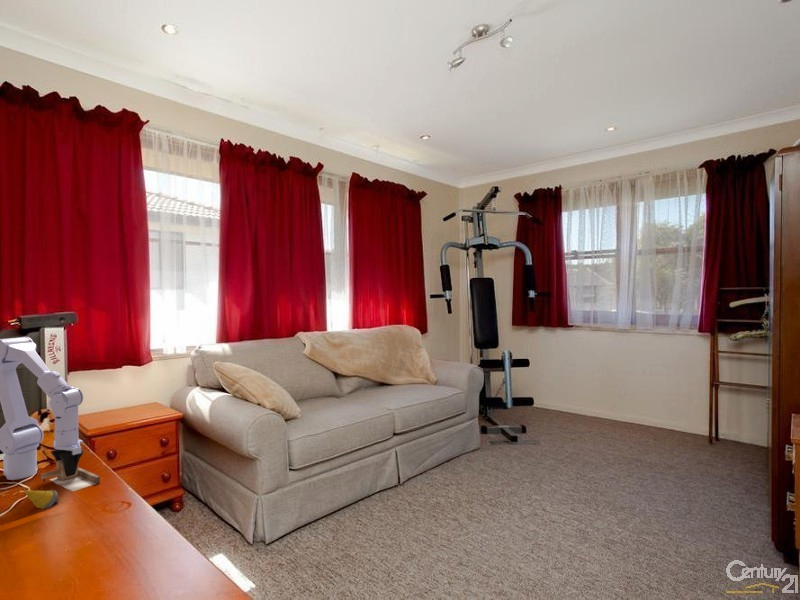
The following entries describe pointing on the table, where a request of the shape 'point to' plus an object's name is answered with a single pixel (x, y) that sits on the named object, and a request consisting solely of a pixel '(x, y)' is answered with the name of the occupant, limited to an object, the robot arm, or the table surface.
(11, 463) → the robot arm
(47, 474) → the block
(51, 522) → the table surface
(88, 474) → the board
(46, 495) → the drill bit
